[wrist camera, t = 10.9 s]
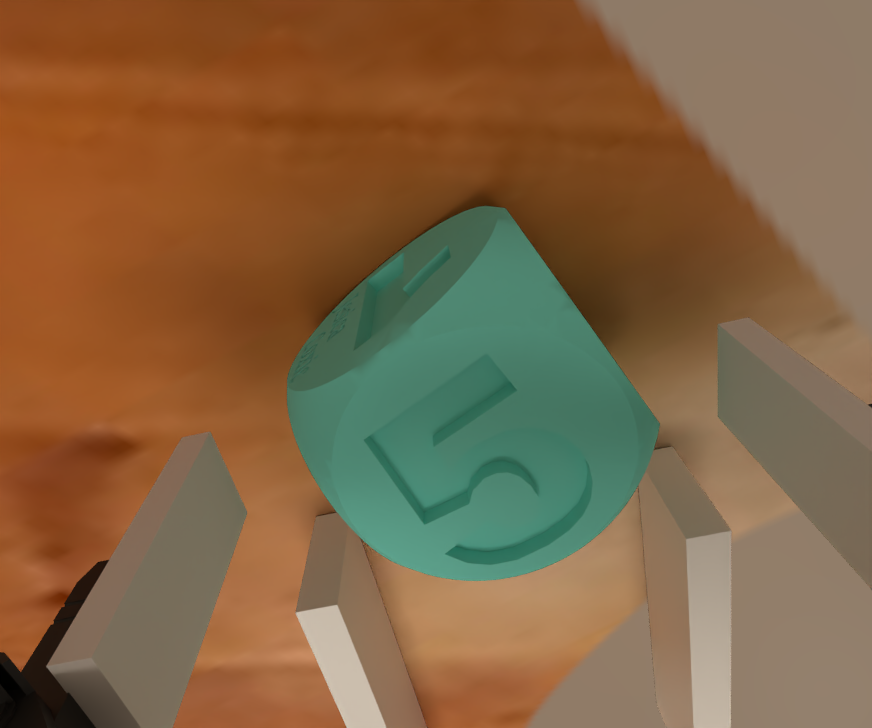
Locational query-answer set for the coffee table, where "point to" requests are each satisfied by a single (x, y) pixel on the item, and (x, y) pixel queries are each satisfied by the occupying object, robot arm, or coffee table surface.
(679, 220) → the coffee table surface
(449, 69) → the coffee table surface
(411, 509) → the decorative dice
